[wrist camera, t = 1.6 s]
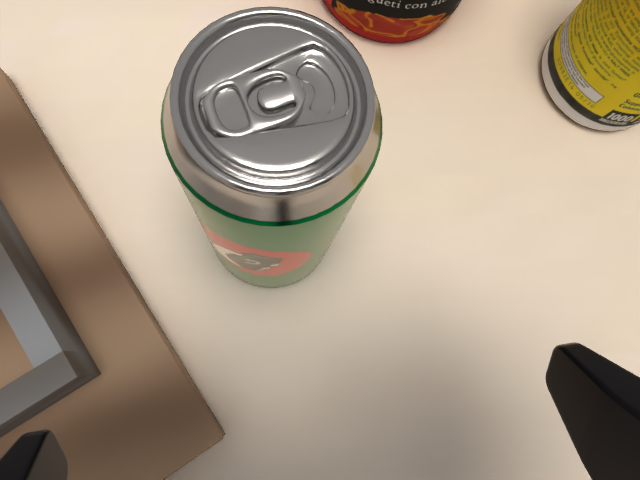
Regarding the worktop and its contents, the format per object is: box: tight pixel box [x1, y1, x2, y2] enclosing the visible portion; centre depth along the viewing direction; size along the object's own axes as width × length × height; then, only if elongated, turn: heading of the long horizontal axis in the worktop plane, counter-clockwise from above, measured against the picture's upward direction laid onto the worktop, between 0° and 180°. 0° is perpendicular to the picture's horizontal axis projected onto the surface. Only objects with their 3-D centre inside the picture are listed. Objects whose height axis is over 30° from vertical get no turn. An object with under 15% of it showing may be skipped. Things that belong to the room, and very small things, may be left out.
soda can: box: [161, 7, 382, 287], centre depth 16 cm, size 5×5×12 cm
